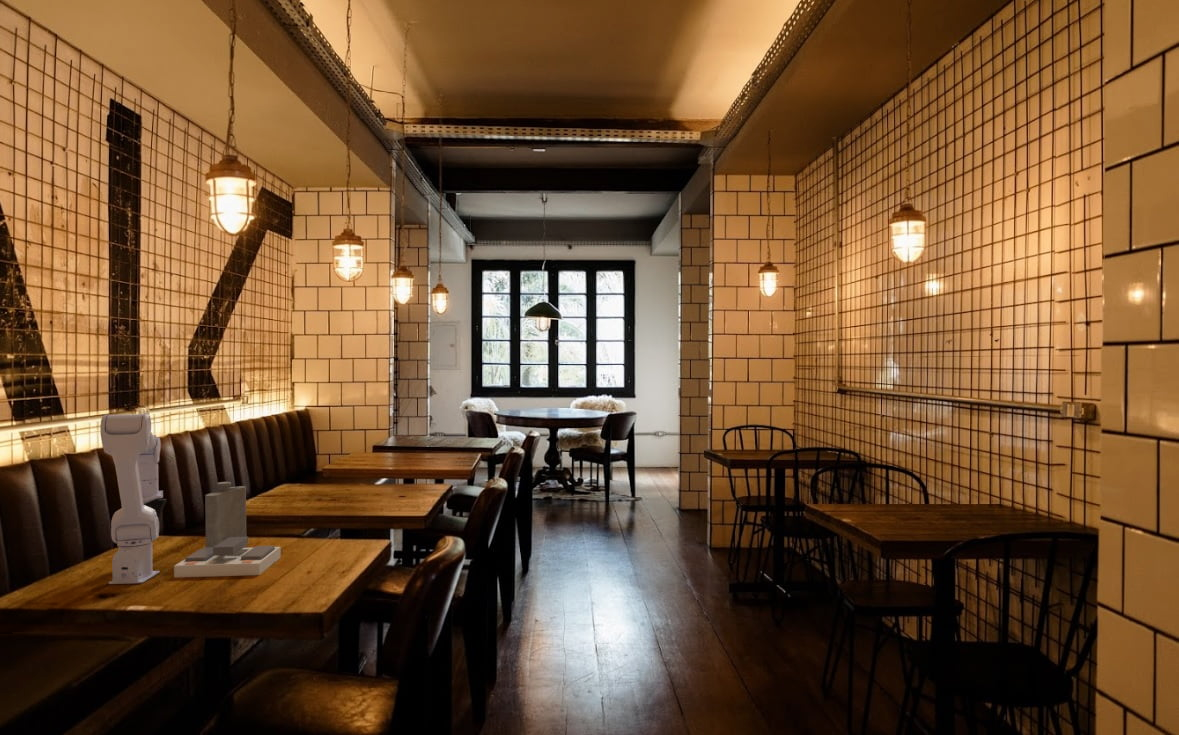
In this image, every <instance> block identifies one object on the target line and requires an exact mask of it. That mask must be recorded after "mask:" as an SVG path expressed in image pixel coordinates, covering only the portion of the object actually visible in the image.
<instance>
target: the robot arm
mask: <svg viewBox="0 0 1179 735" xmlns="http://www.w3.org/2000/svg"><path fill="white" fill-rule="evenodd" d="M100 439H101V444H102V446H101V447H102V448H103V451H104V454H106V455H109V456H111V457H112V460H113V463H114V467H115V472H116V477H117V478H116V479H117V485H118V486H117V487H118V492H119V498H120V502H121V503H120V504H121V508H120V509H118V510H116V511H115V512H114V513H113V515H112V517H111V518H112V519H111V523H110V526H111V528H110V532H111V533H110V536H111V541H112V542H114V544H117V545H116V546H117V547H118V550H117V551H116V552H115V553H114V554H113V557H112V558H111V560H112V561H111V563H112V564H111V565H112V568H111V570H112V572H111V574H112V580H110V581H108V584H109V585H118V584H119V585H123V584H126V585H127V584H128V585H129V584H143V583H144V582H147V581H148V580H149V579H151V578H153V577H154V576H157V575H158V574H159V573H160V570H153V568H154V567H153V541H156V540H157V539H158V537H159V535H160V534H159V533H160V520H161V516H162V513H163V509H164V507H165V505H166V503H167V498H164V490H159V462H160V454H161V445H162V444H161V443H162V442H161V438H160V437H159V436H158V437H157V435H156V434H155V435H154V434H153V432H152V418H151V415H149V413H145V412H144V413H142V414H141V413H138V414H132V413H131V414H108V413H107V414H104V415H103V416H102V417H101V419H100Z"/></svg>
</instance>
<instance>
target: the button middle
mask: <svg viewBox="0 0 1179 735" xmlns="http://www.w3.org/2000/svg"><path fill="white" fill-rule="evenodd" d="M248 545H249V536H246V537H229V538H227V539H226V540H224V541H223V542H221V543H219V544H218V545H216V546H214V547H213V556H220V555H234V554H235V553H237V552H238V551H240V550H241V549H243V548H247V546H248Z"/></svg>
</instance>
